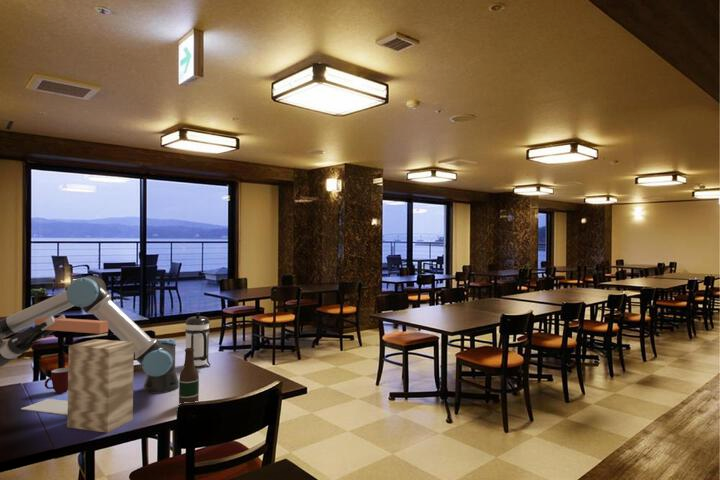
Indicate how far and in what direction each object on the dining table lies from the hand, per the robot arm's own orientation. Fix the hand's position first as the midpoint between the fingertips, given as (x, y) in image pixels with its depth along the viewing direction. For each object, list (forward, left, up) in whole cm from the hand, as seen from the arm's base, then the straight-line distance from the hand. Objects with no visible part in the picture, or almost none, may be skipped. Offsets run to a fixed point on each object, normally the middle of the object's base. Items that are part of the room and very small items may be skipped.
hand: (58, 318), depth 171 cm
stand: (-16, +10, -39) cm, 43 cm away
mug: (+8, -35, -39) cm, 53 cm away
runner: (+1, -13, -39) cm, 41 cm away
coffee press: (-52, -60, -39) cm, 89 cm away
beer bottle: (-47, +1, -39) cm, 61 cm away
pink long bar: (-5, +3, -4) cm, 7 cm away
